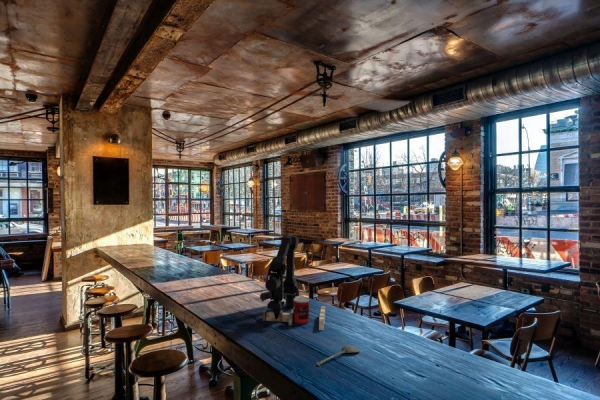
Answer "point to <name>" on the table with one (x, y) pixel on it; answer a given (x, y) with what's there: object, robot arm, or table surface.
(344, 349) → the soupspoon
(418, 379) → the table surface
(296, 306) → the canned food
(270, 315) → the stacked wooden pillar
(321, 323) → the stop rail
